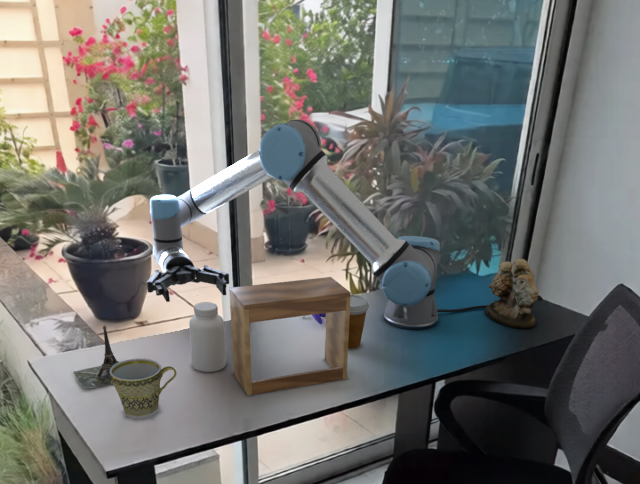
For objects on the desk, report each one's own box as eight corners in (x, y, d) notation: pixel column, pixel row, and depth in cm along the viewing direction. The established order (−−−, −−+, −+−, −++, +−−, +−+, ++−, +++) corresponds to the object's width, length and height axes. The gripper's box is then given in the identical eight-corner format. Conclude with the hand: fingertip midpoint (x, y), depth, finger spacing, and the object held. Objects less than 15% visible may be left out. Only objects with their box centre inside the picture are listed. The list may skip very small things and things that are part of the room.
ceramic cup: (120, 427, 131) (113, 383, 126) (113, 404, 139) (106, 362, 134) (184, 416, 136) (180, 373, 130) (174, 395, 143) (170, 353, 138)
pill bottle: (219, 374, 153) (215, 313, 145) (187, 370, 154) (181, 310, 146) (231, 360, 159) (228, 301, 151) (199, 356, 160) (195, 298, 153)
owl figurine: (472, 310, 194) (481, 253, 185) (502, 304, 199) (512, 248, 190) (514, 332, 181) (526, 271, 172) (545, 325, 186) (558, 266, 177)
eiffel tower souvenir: (138, 360, 157) (131, 307, 150) (151, 377, 150) (144, 322, 143) (73, 373, 151) (63, 318, 144) (84, 391, 143) (73, 335, 136)
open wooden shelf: (233, 374, 153) (229, 287, 142) (328, 359, 162) (330, 276, 150) (247, 395, 144) (244, 305, 133) (346, 378, 153) (350, 292, 142)
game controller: (321, 319, 174) (300, 300, 179) (324, 341, 180) (304, 323, 185) (351, 302, 177) (329, 284, 182) (353, 325, 183) (332, 307, 189)
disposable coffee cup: (347, 334, 175) (349, 291, 169) (373, 345, 170) (377, 301, 163) (322, 343, 170) (323, 299, 163) (348, 355, 164) (350, 310, 158)
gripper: (224, 275, 178) (247, 301, 162) (130, 285, 169) (144, 314, 153) (222, 248, 174) (246, 272, 158) (126, 256, 165) (140, 283, 149)
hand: (196, 293), depth 155 cm, fingers open, 13 cm apart
